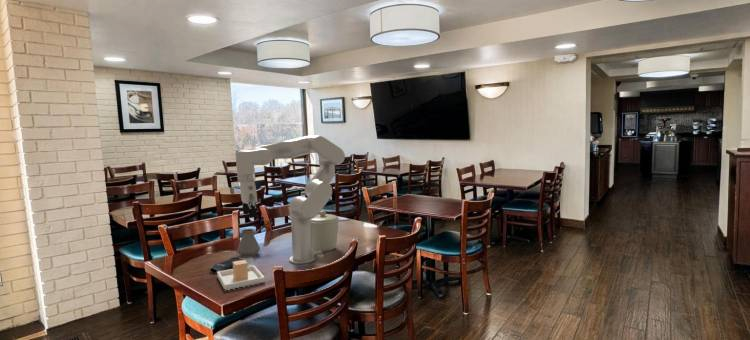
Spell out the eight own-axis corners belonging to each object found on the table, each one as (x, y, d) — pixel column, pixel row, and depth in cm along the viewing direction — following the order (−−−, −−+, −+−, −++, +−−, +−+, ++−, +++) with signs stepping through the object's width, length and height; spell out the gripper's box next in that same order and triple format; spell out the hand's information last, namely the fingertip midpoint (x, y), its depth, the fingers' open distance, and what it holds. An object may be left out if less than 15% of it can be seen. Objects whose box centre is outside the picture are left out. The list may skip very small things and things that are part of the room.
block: (245, 275, 177) (244, 259, 176) (248, 278, 173) (247, 263, 172) (233, 277, 174) (232, 261, 174) (235, 281, 170) (235, 265, 169)
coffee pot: (246, 259, 200) (244, 230, 199) (232, 255, 207) (231, 227, 206) (279, 249, 217) (278, 221, 216) (266, 245, 224) (265, 219, 223)
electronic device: (229, 265, 198) (205, 271, 184) (231, 254, 197) (207, 259, 184) (244, 270, 194) (220, 276, 180) (246, 259, 194) (222, 264, 180)
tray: (254, 270, 185) (254, 265, 185) (265, 282, 170) (264, 277, 169) (217, 277, 177) (217, 271, 177) (225, 291, 162) (224, 285, 161)
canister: (317, 256, 204) (316, 215, 202) (300, 248, 218) (299, 210, 216) (347, 249, 215) (346, 210, 213) (328, 242, 229) (327, 205, 227)
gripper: (260, 178, 174) (264, 217, 176) (249, 174, 188) (252, 210, 191) (243, 181, 170) (246, 220, 172) (233, 176, 184) (236, 213, 187)
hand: (250, 215), depth 181 cm, fingers open, 9 cm apart
